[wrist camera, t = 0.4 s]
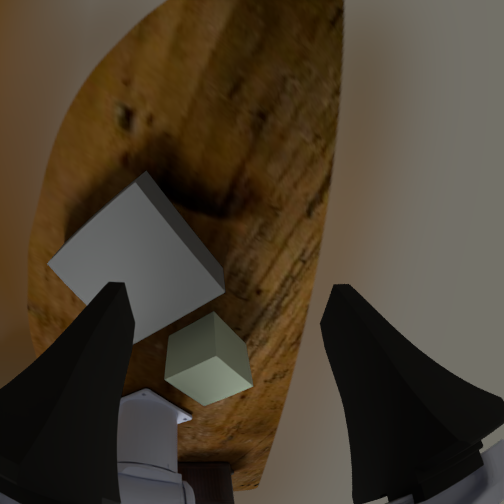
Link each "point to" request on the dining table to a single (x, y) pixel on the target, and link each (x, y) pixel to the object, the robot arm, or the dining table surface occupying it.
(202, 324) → the green cube
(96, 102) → the dining table surface
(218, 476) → the manual coffee grinder
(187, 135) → the dining table surface
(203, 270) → the gray plinth
